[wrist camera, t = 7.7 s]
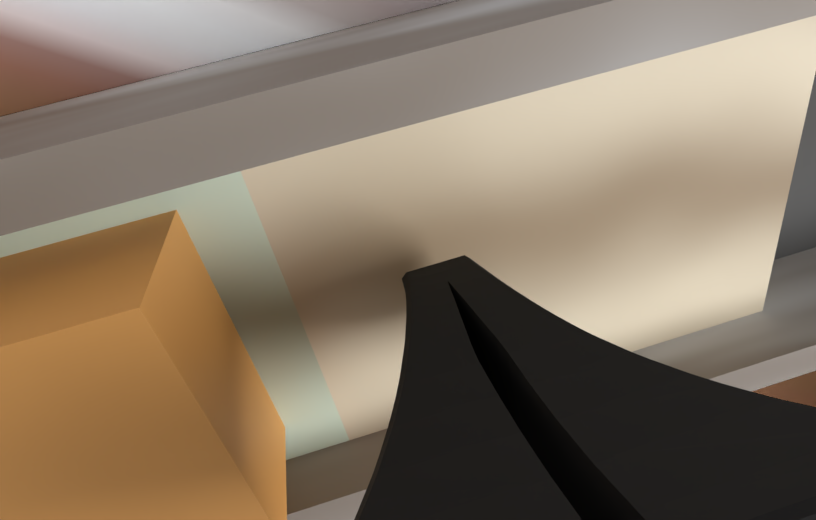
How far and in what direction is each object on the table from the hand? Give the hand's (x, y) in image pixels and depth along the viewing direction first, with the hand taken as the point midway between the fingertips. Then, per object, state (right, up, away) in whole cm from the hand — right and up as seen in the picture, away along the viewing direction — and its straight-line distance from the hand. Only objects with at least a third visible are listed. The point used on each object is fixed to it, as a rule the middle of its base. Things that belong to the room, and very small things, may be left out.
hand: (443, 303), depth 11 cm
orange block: (-7, -2, 0) cm, 7 cm away
